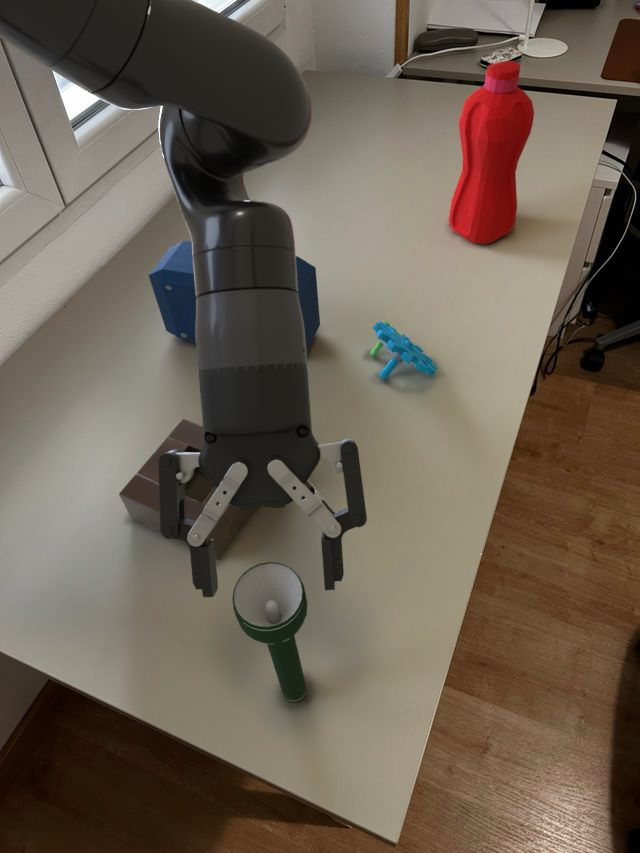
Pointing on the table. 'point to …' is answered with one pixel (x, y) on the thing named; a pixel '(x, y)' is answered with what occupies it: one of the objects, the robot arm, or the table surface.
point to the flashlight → (274, 619)
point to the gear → (400, 350)
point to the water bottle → (491, 155)
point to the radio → (179, 298)
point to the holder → (145, 486)
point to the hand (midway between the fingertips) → (270, 590)
